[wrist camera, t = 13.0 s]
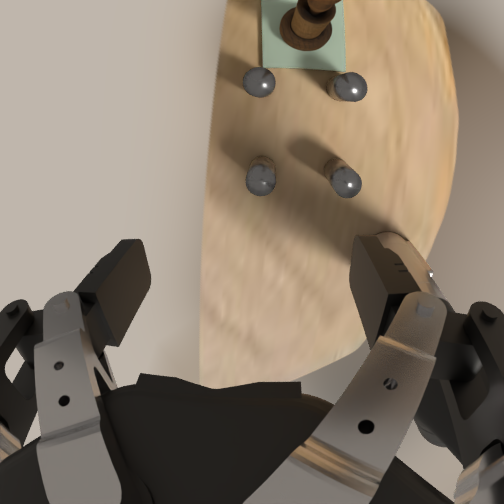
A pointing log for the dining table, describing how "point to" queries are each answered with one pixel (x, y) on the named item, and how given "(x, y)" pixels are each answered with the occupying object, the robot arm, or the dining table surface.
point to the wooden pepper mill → (308, 24)
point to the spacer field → (335, 170)
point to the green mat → (283, 56)
